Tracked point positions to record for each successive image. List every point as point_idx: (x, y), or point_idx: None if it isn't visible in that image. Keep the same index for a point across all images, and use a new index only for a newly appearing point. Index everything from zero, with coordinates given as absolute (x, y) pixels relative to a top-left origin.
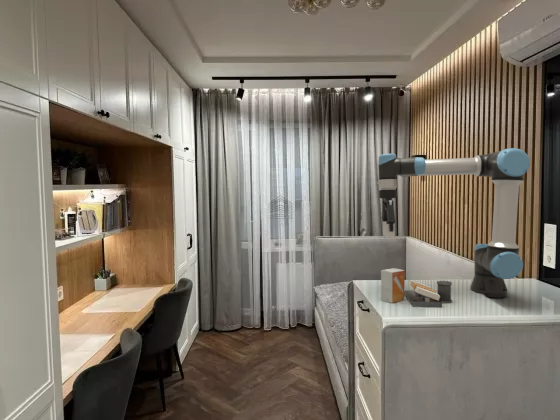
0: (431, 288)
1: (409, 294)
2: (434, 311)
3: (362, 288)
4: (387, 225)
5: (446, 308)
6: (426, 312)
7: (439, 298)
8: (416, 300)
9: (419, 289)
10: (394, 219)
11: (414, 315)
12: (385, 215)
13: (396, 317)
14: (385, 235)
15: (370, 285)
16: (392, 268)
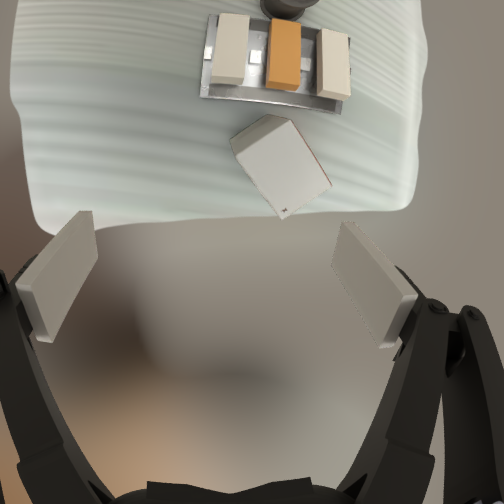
0: (249, 17)
1: (266, 97)
2: (376, 77)
3: (123, 220)
4: (56, 274)
5: (353, 34)
6: (382, 101)
7: (291, 17)
8: (336, 101)
9: (349, 92)
10: (485, 329)
11: (398, 140)
12: (50, 394)
13: (403, 186)
14: (95, 241)
15: (82, 191)
16: (247, 163)
